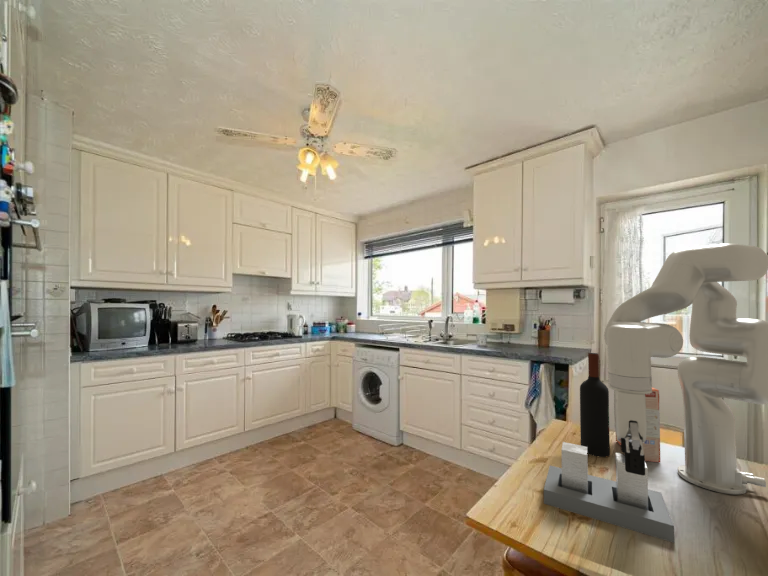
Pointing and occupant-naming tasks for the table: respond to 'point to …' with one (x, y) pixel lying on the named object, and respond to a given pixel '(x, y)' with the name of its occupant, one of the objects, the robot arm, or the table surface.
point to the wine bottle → (594, 411)
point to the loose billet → (631, 485)
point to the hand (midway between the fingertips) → (632, 462)
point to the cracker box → (651, 427)
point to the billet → (575, 467)
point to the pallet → (610, 505)
